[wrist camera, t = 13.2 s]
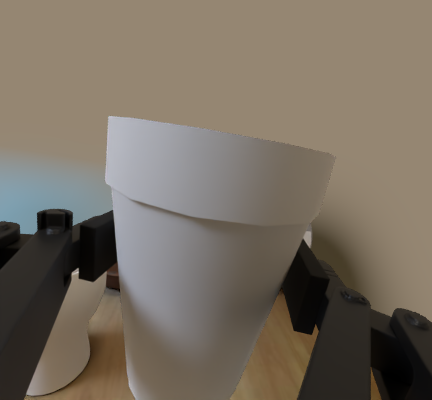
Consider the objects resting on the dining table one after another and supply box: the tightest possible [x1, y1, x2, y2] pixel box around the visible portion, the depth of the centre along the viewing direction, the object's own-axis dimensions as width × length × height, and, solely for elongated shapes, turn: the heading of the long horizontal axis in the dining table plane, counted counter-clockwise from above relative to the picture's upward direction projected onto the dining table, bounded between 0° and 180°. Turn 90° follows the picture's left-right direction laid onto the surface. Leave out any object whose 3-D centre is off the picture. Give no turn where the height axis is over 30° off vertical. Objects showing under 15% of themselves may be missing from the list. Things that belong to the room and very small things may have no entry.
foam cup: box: [105, 116, 336, 400], centre depth 12 cm, size 10×9×13 cm
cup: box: [26, 268, 107, 396], centre depth 26 cm, size 11×11×15 cm
